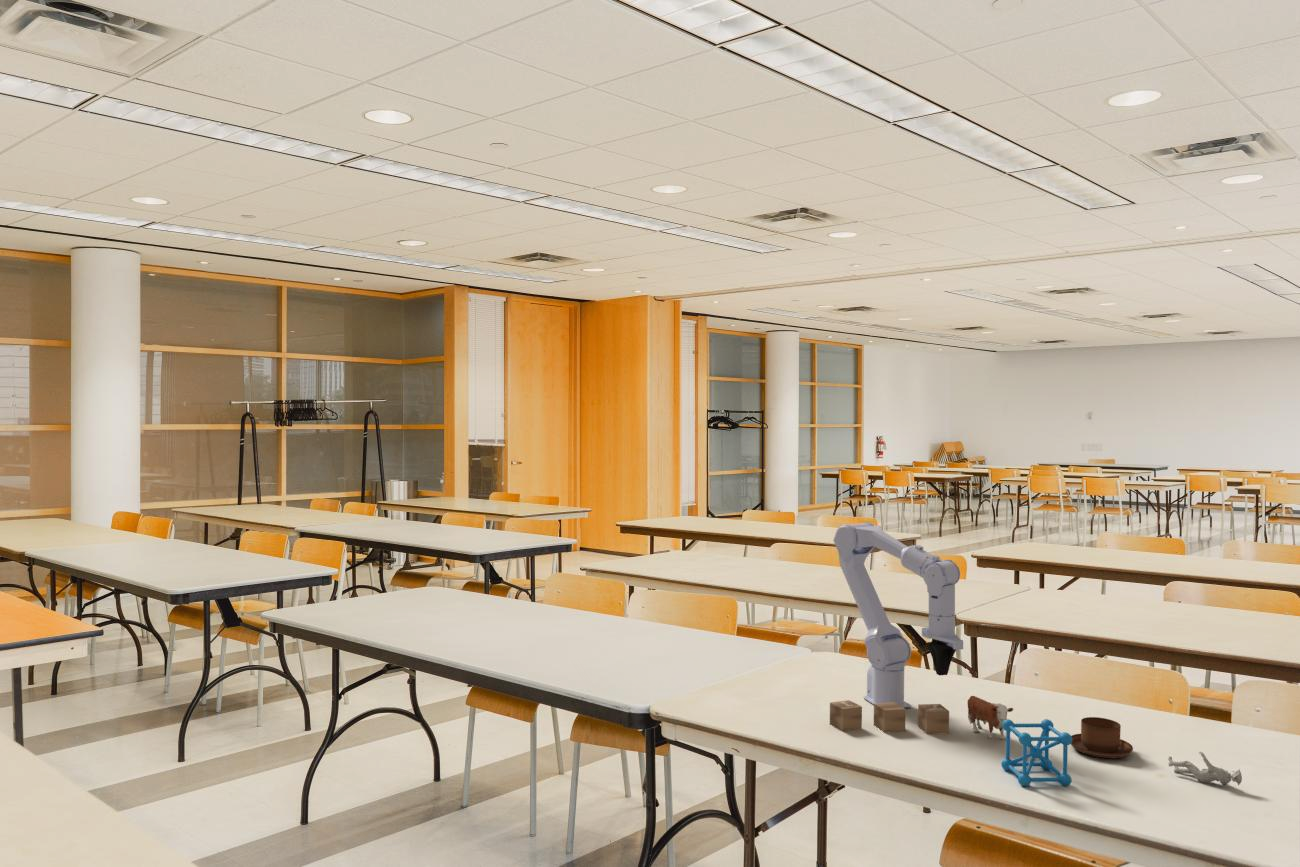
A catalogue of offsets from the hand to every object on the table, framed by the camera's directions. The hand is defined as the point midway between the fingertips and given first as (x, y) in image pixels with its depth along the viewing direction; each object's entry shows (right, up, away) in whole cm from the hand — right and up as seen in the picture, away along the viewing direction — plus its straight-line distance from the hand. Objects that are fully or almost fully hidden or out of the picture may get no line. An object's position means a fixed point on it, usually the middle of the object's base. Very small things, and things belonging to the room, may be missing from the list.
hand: (941, 674), depth 215 cm
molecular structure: (+8, -12, -34) cm, 36 cm away
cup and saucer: (+27, -11, -19) cm, 35 cm away
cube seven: (-4, -11, -6) cm, 13 cm away
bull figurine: (+7, -11, -10) cm, 16 cm away
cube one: (-23, -11, -5) cm, 25 cm away
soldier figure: (+39, -12, -35) cm, 54 cm away
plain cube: (-13, -11, -6) cm, 18 cm away
